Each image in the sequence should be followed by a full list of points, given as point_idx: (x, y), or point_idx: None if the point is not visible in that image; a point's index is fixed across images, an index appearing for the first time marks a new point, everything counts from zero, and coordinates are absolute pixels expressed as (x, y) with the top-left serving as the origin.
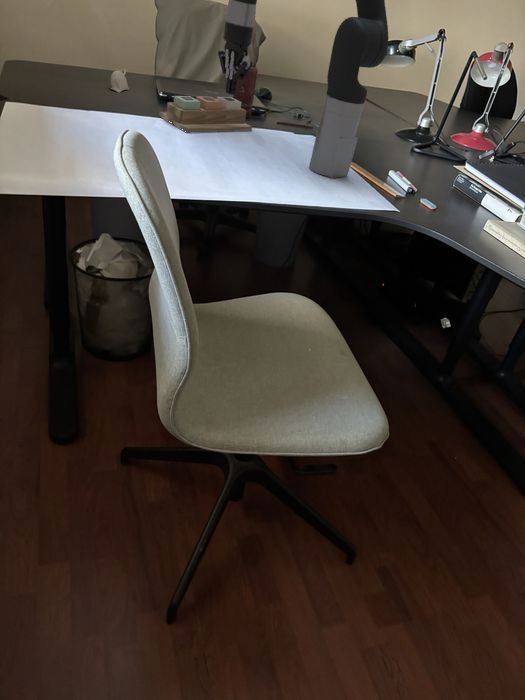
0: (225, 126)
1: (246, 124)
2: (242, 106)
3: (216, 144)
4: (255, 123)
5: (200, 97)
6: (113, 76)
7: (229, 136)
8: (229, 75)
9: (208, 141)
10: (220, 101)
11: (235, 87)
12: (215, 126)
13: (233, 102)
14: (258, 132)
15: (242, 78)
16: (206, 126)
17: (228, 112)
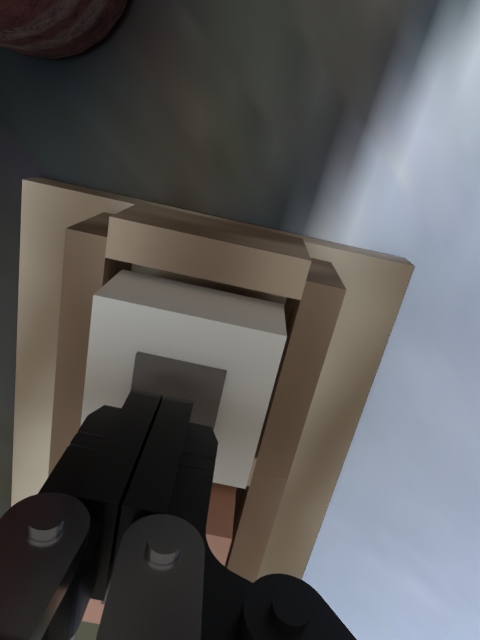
0: (324, 463)
1: (352, 265)
2: (75, 6)
3: (448, 632)
4: (273, 3)
5: (92, 608)
6: None
7: (401, 492)
8: (71, 636)
9: (400, 635)
10: (216, 536)
11: (211, 478)
12: (301, 522)
13: (261, 426)
14: (450, 219)
15: (319, 603)
16: (282, 566)
17: (290, 460)
